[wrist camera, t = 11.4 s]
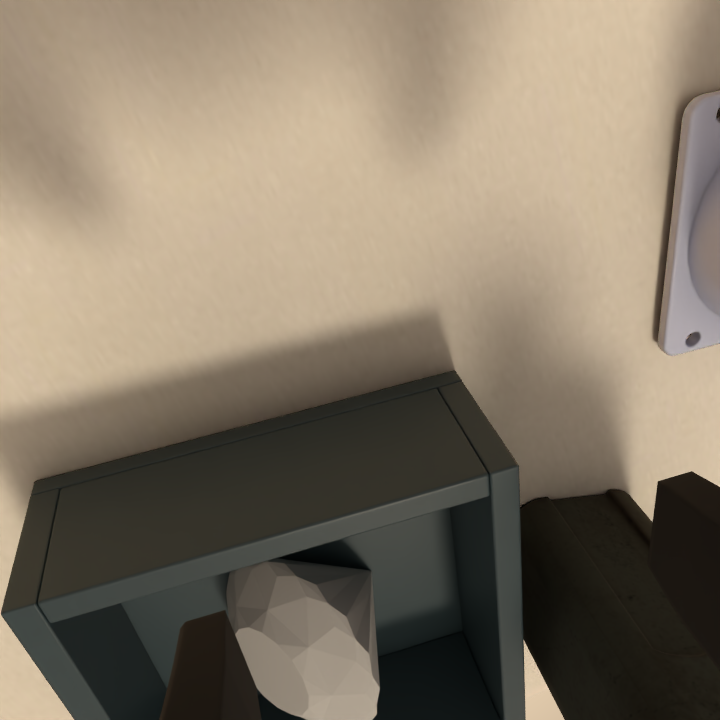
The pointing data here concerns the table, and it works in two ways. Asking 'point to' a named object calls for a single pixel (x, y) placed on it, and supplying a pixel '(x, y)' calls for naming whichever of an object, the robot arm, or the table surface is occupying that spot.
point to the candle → (607, 616)
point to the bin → (287, 551)
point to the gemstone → (308, 637)
